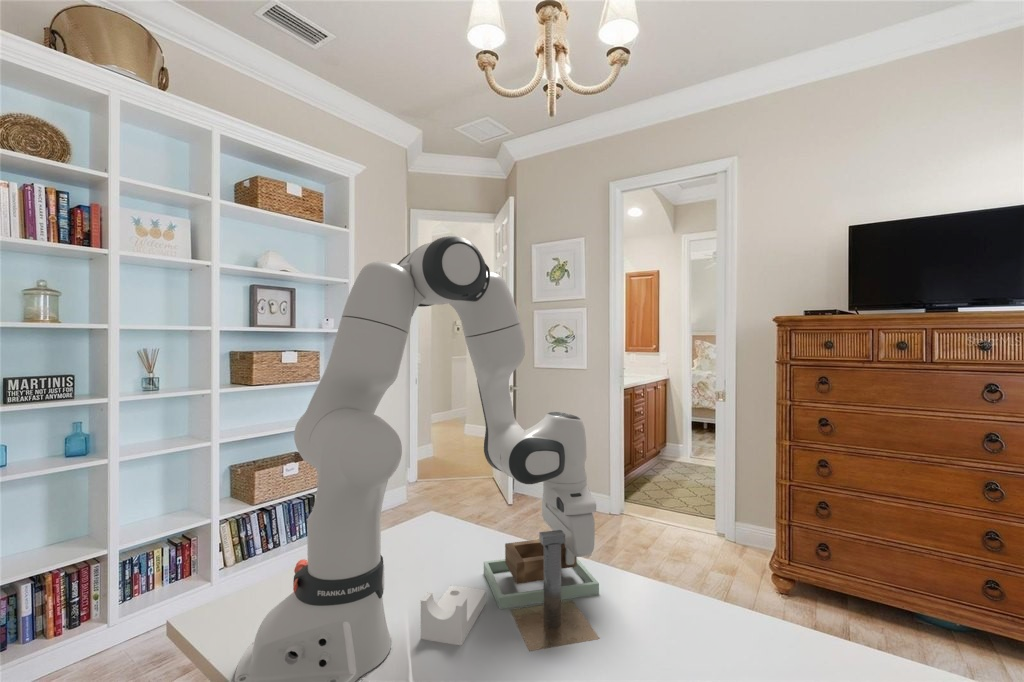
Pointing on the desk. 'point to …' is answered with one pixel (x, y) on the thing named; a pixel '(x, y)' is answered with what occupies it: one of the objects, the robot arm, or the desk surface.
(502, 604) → the sage tray
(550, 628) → the post stand
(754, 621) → the desk surface
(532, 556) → the walnut collar
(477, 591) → the bracket
